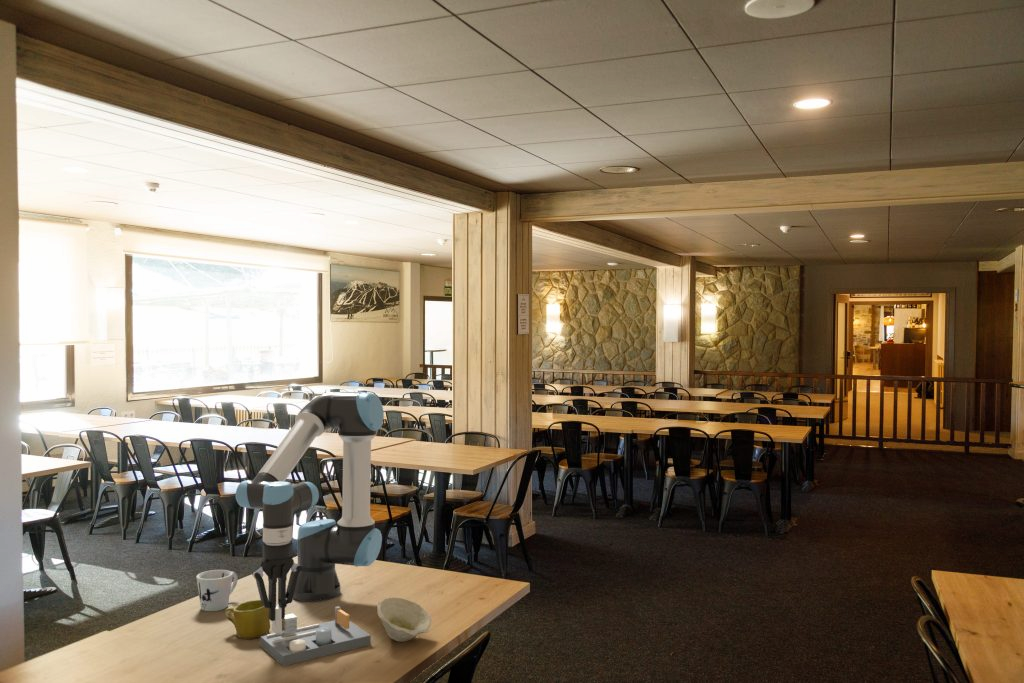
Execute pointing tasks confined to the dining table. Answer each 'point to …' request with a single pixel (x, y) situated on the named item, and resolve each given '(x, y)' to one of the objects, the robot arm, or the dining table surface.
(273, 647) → the panel
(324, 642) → the button bluegrey
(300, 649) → the button ivory
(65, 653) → the dining table surface
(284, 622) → the slider knob
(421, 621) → the bowl
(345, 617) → the paddle
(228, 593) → the mug
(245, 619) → the mug
